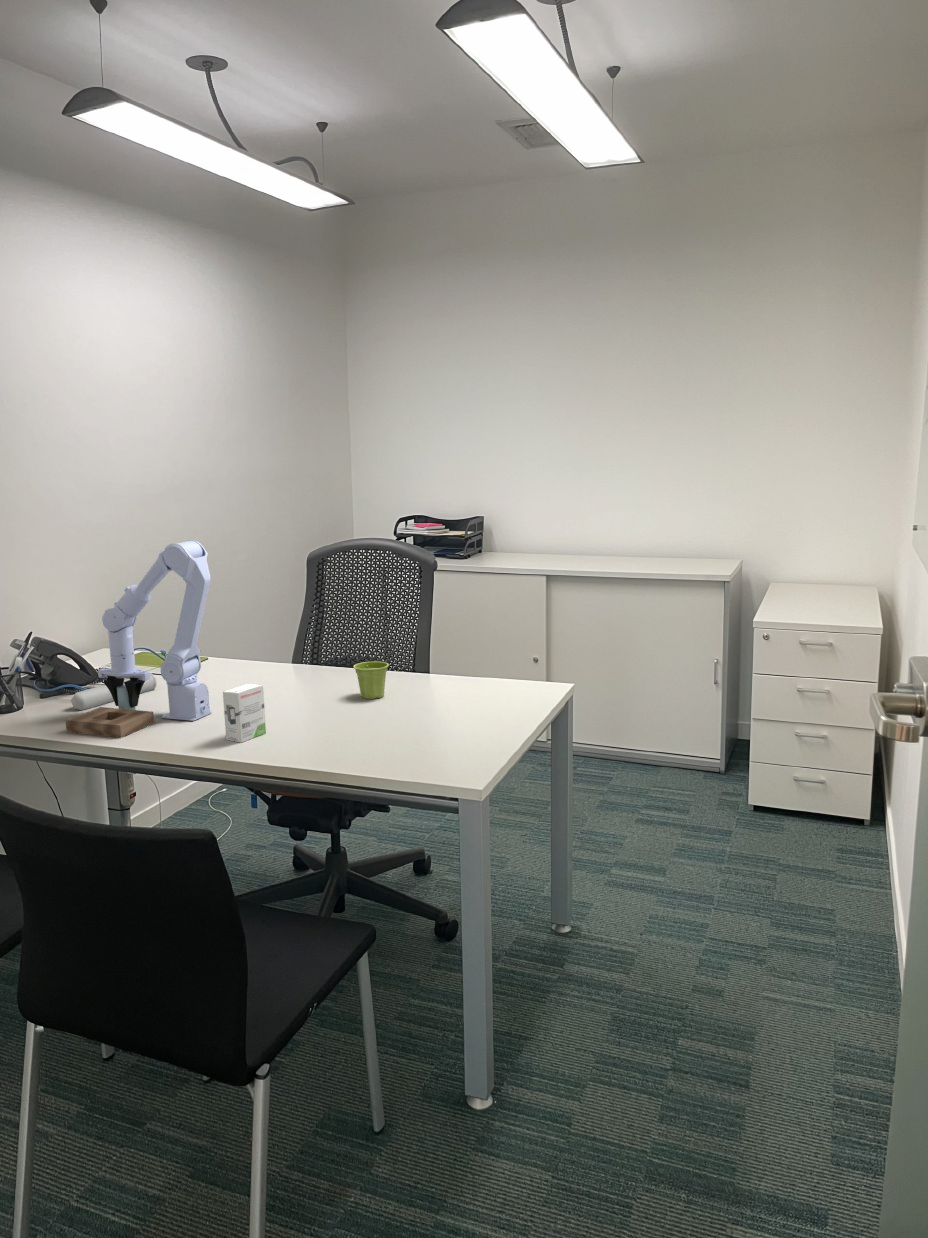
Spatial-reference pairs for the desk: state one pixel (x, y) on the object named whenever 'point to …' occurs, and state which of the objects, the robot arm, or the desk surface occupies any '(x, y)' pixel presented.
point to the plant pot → (371, 678)
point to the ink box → (244, 712)
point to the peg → (123, 698)
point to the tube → (103, 695)
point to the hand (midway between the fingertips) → (126, 705)
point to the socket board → (109, 722)
